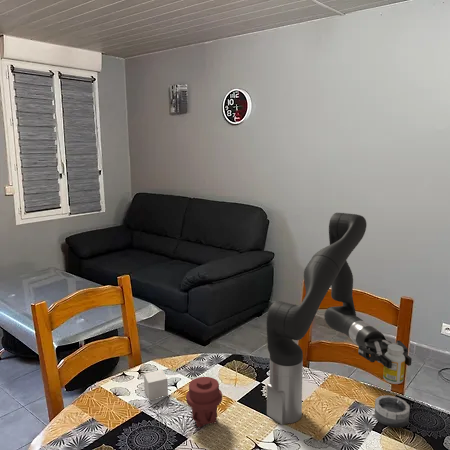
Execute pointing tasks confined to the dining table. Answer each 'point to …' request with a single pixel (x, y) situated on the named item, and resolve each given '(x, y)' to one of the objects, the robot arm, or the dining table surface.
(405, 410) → the collar
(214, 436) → the dining table surface
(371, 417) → the dining table surface
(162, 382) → the grey cube
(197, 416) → the mechanical component
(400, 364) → the supplement bottle
